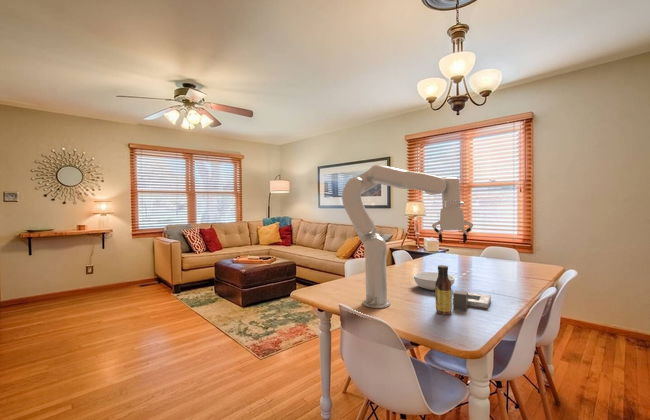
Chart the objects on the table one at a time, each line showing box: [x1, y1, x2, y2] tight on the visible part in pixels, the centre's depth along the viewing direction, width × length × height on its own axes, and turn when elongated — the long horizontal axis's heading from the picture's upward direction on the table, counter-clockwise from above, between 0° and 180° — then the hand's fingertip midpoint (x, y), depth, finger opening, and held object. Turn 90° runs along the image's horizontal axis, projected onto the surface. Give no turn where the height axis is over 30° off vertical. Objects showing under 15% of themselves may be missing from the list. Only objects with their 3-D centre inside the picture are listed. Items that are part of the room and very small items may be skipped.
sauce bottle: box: [434, 264, 453, 316], centre depth 128 cm, size 6×6×20 cm
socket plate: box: [452, 290, 492, 310], centre depth 141 cm, size 14×14×3 cm
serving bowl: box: [413, 271, 456, 291], centre depth 166 cm, size 21×21×7 cm
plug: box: [452, 289, 469, 312], centre depth 134 cm, size 5×5×7 cm
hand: (452, 242), depth 139 cm, fingers open, 9 cm apart
